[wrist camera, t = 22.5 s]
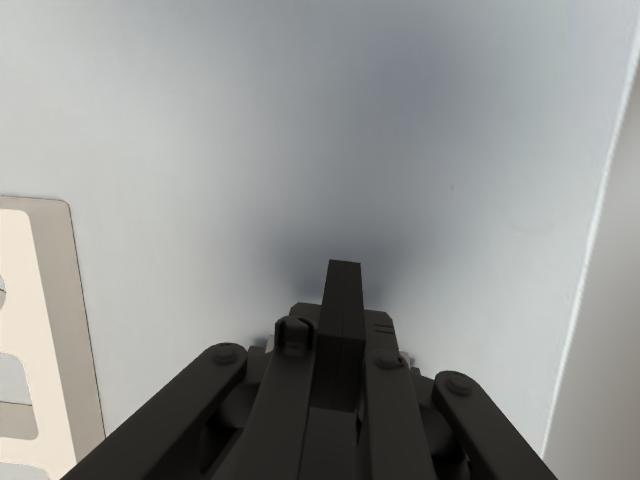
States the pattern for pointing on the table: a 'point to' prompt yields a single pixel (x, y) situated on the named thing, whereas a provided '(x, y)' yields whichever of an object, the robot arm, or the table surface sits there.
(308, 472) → the drawer
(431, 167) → the table surface
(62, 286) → the holder
